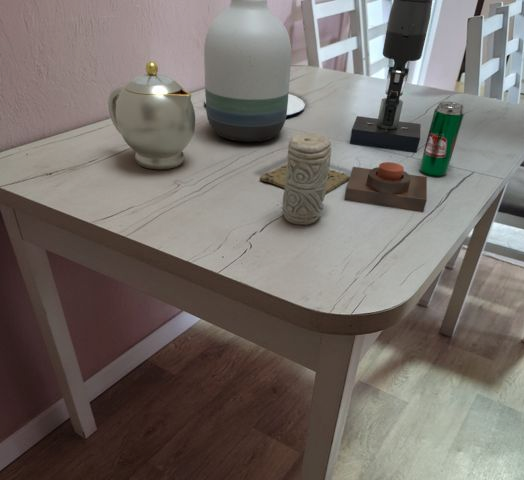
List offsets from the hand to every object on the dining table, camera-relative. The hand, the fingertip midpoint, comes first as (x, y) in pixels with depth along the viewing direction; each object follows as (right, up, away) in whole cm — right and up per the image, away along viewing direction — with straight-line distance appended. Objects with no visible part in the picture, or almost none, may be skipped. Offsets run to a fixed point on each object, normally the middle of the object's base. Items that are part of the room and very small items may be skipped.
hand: (388, 119), depth 103 cm
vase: (-30, -3, +2) cm, 30 cm away
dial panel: (0, -3, +3) cm, 4 cm away
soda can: (+6, -15, -10) cm, 19 cm away
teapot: (-47, -13, -12) cm, 50 cm away
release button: (-6, -20, -22) cm, 31 cm away
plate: (-29, +12, +19) cm, 36 cm away
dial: (0, -1, +1) cm, 1 cm away
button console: (-6, -22, -19) cm, 29 cm away
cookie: (-19, -18, -16) cm, 31 cm away
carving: (-21, -28, -27) cm, 44 cm away
